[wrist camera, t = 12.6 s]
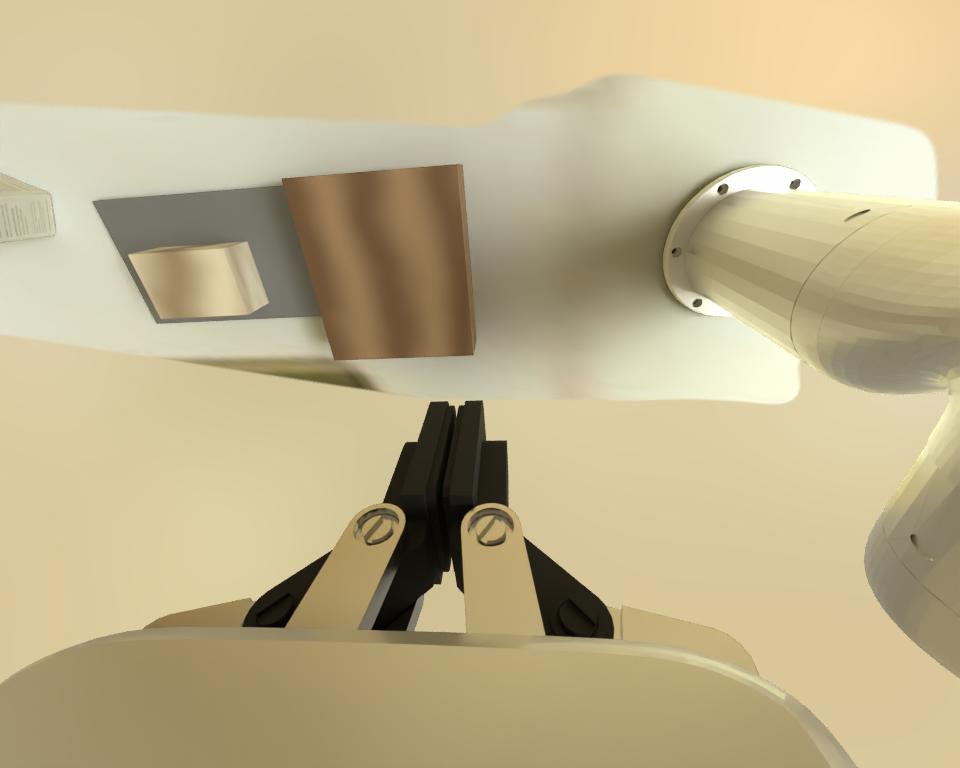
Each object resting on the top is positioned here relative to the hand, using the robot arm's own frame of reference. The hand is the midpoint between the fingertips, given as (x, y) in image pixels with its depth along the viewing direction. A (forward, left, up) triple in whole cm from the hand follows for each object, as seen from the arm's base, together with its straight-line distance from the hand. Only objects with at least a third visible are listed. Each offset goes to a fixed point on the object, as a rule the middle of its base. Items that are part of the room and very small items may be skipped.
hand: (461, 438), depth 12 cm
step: (+9, 0, -27) cm, 29 cm away
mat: (+26, -1, -27) cm, 38 cm away
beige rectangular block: (+28, 0, -23) cm, 36 cm away
